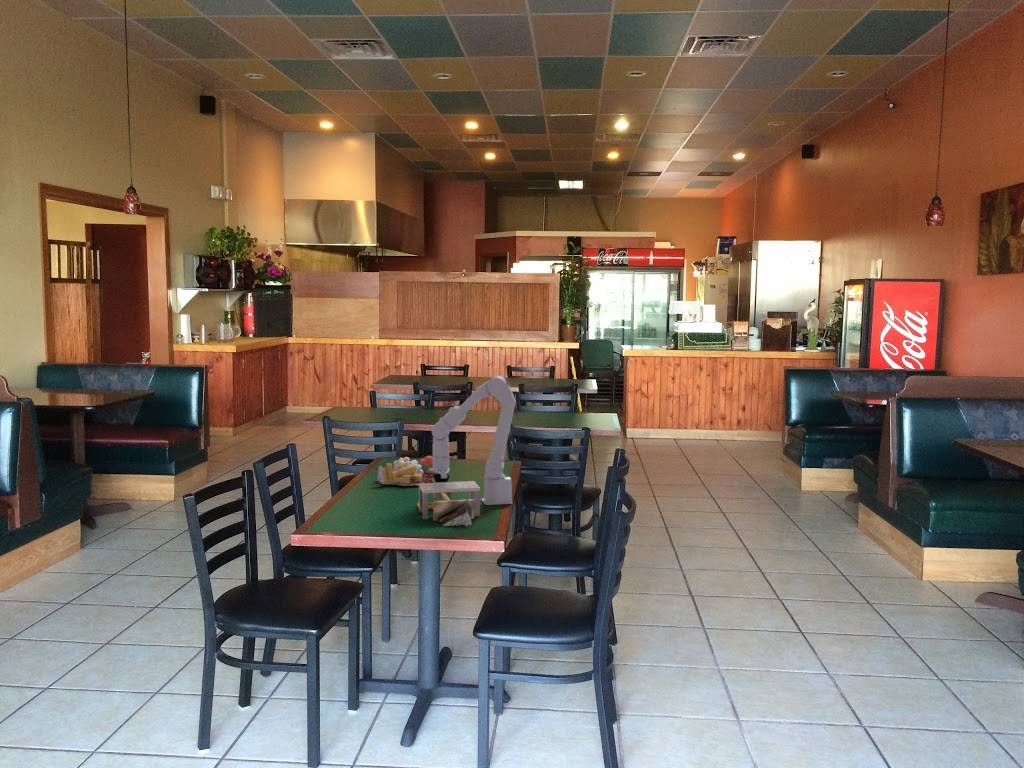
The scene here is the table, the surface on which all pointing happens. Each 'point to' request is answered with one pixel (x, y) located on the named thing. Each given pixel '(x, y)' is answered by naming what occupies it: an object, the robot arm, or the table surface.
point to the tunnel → (448, 487)
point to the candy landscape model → (406, 472)
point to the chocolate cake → (456, 515)
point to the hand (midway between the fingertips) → (440, 494)
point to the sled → (447, 503)
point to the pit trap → (430, 505)
